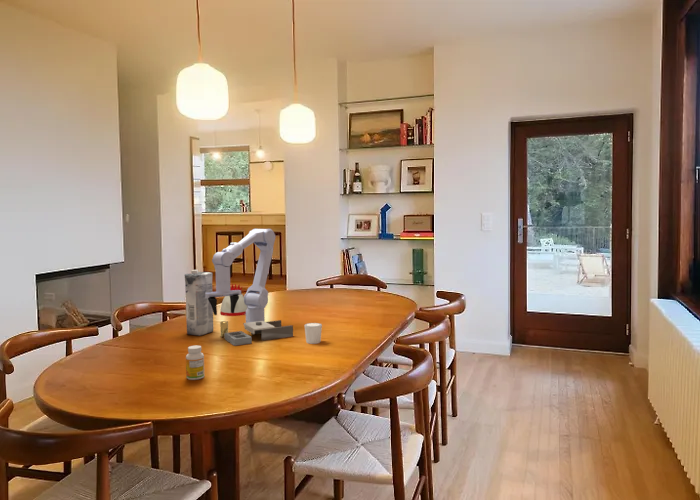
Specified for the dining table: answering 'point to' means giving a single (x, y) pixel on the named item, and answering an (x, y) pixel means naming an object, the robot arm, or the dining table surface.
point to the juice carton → (198, 303)
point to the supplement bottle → (194, 363)
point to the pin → (224, 328)
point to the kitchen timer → (239, 308)
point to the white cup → (313, 333)
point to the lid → (257, 326)
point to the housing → (275, 331)
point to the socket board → (238, 338)
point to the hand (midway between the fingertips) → (223, 313)
